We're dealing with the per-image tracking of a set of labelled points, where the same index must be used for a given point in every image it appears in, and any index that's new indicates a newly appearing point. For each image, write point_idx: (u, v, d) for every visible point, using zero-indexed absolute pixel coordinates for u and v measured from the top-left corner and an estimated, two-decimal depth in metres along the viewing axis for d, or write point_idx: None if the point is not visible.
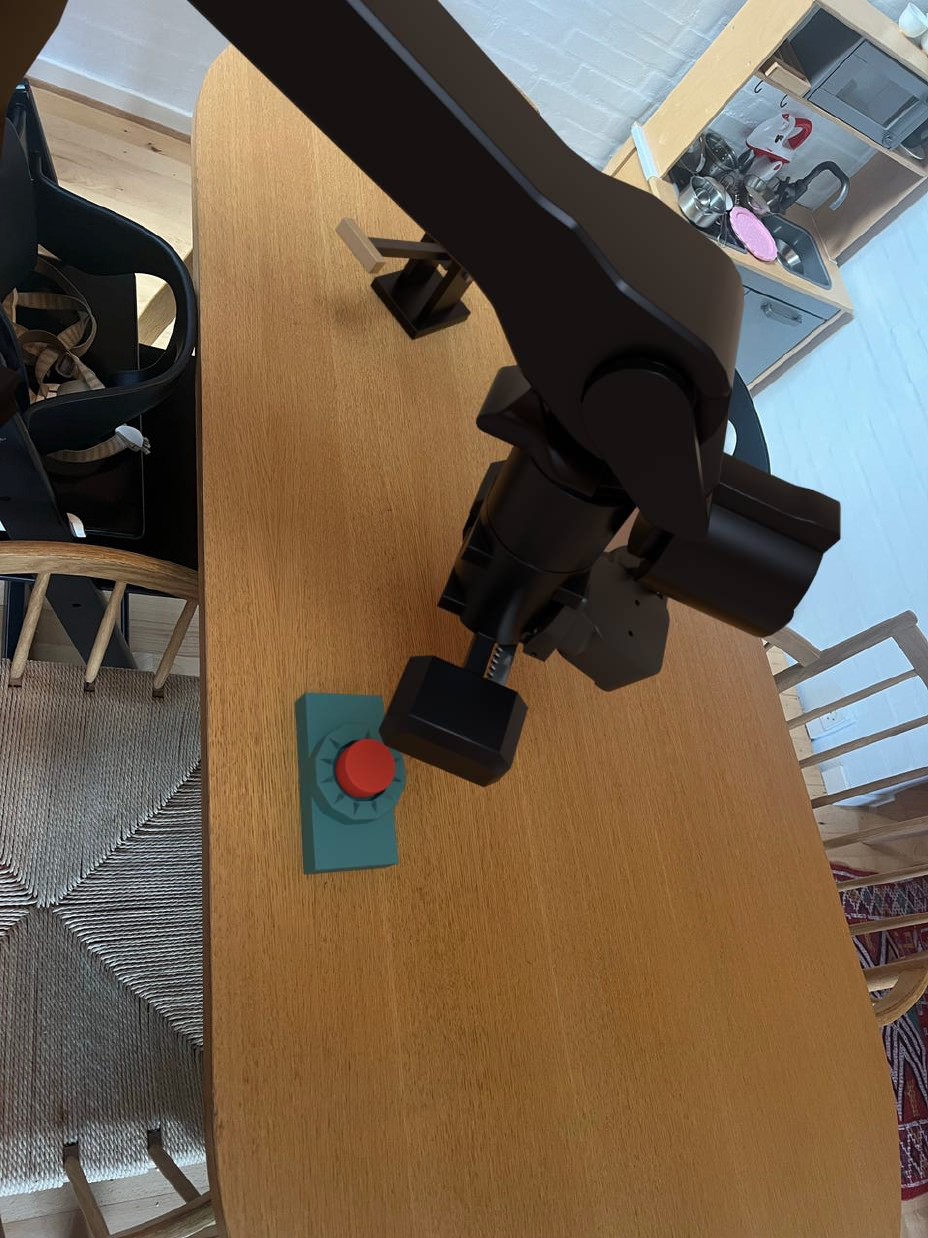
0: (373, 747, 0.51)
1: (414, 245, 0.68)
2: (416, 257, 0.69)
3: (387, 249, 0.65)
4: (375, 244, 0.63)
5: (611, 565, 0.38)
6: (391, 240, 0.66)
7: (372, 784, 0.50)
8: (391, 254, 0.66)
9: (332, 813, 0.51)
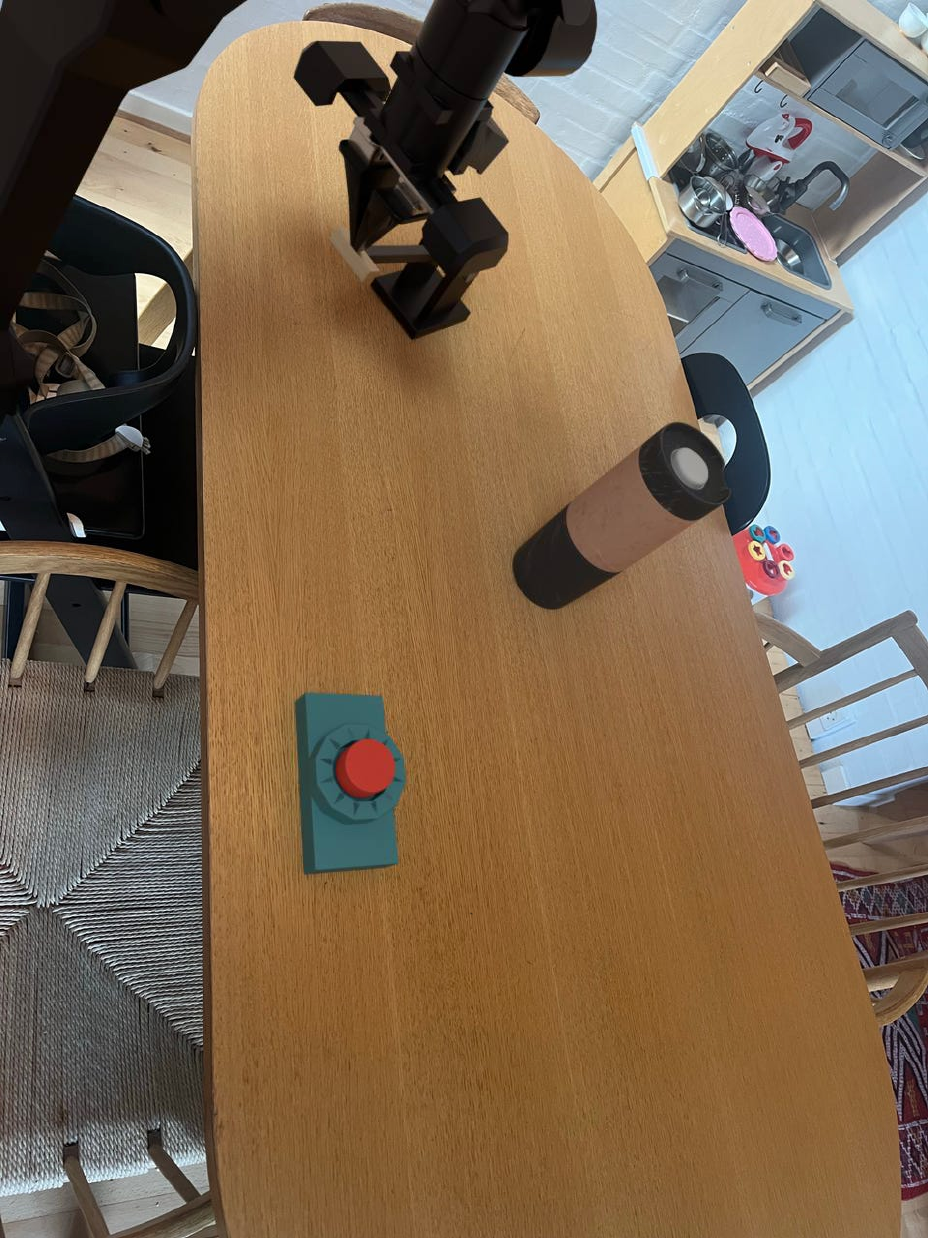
0: (373, 747, 0.51)
1: (410, 249, 0.69)
2: (413, 261, 0.70)
3: (382, 256, 0.65)
4: (368, 253, 0.63)
5: None
6: (386, 246, 0.66)
7: (372, 784, 0.50)
8: (386, 260, 0.66)
9: (332, 813, 0.51)
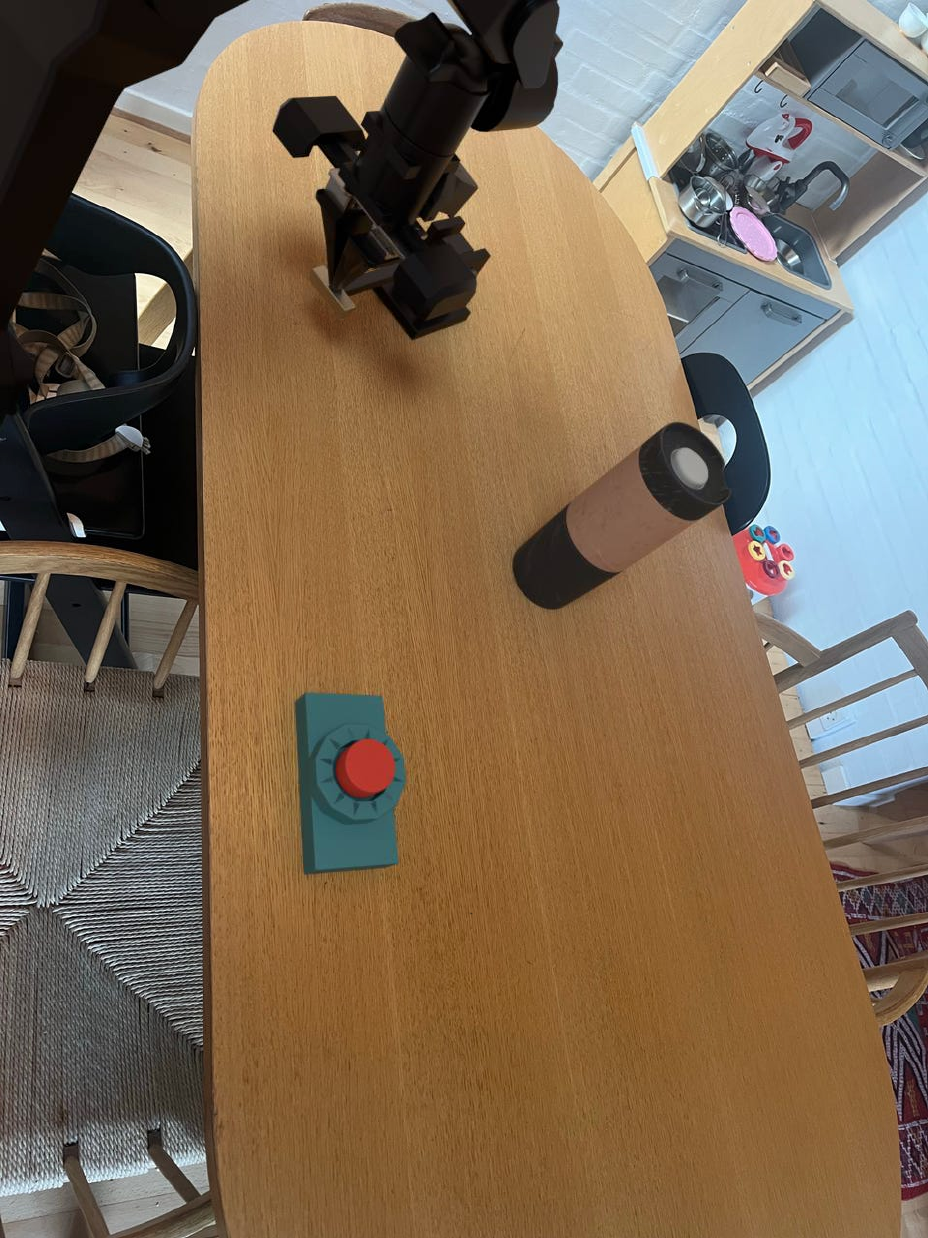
0: (373, 747, 0.51)
1: None
2: None
3: (363, 286, 0.67)
4: (346, 288, 0.66)
5: None
6: (369, 273, 0.68)
7: (372, 784, 0.50)
8: (370, 287, 0.68)
9: (332, 813, 0.51)
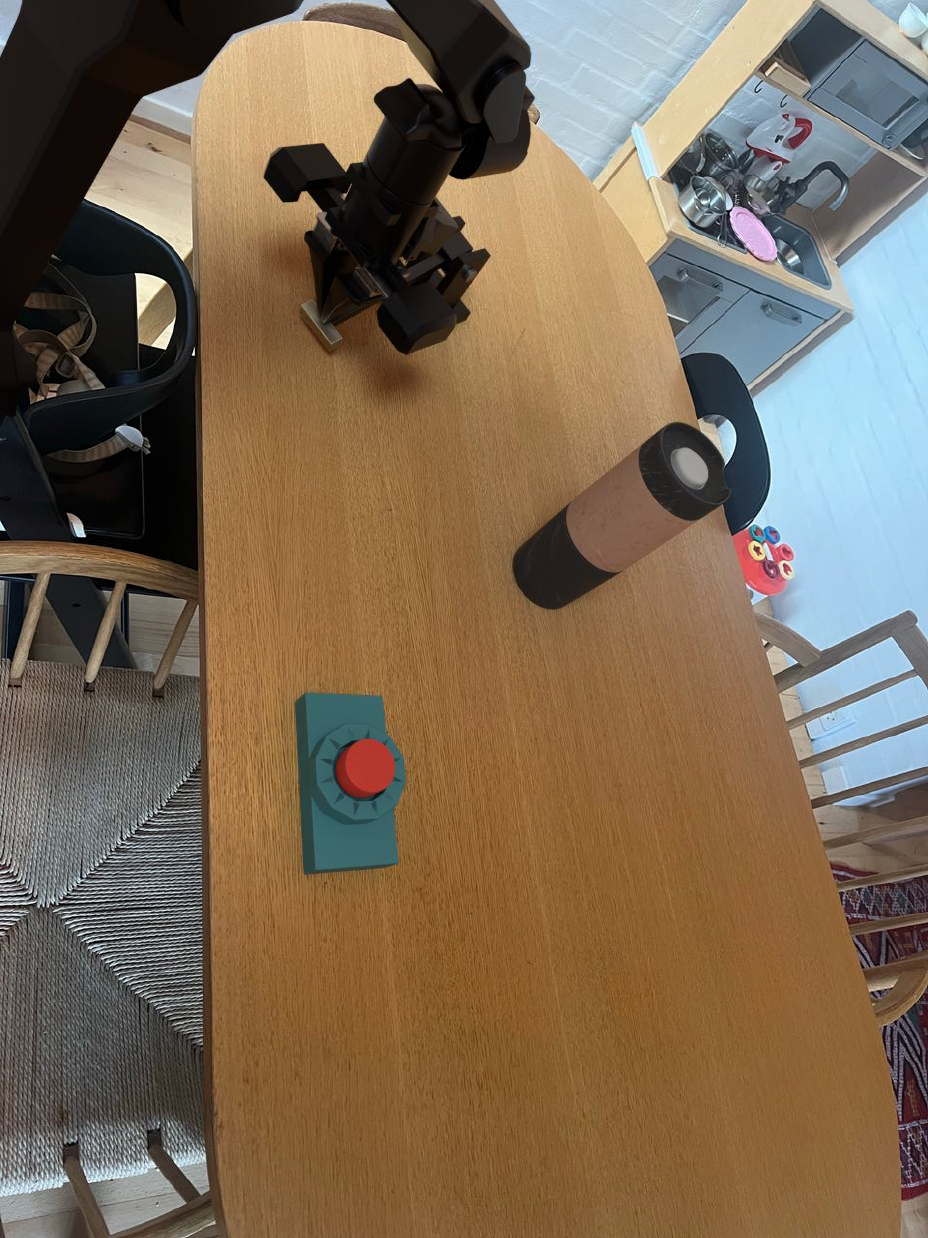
0: (373, 747, 0.51)
1: None
2: None
3: (352, 313, 0.70)
4: (334, 319, 0.70)
5: None
6: None
7: (372, 784, 0.50)
8: (361, 310, 0.71)
9: (332, 813, 0.51)
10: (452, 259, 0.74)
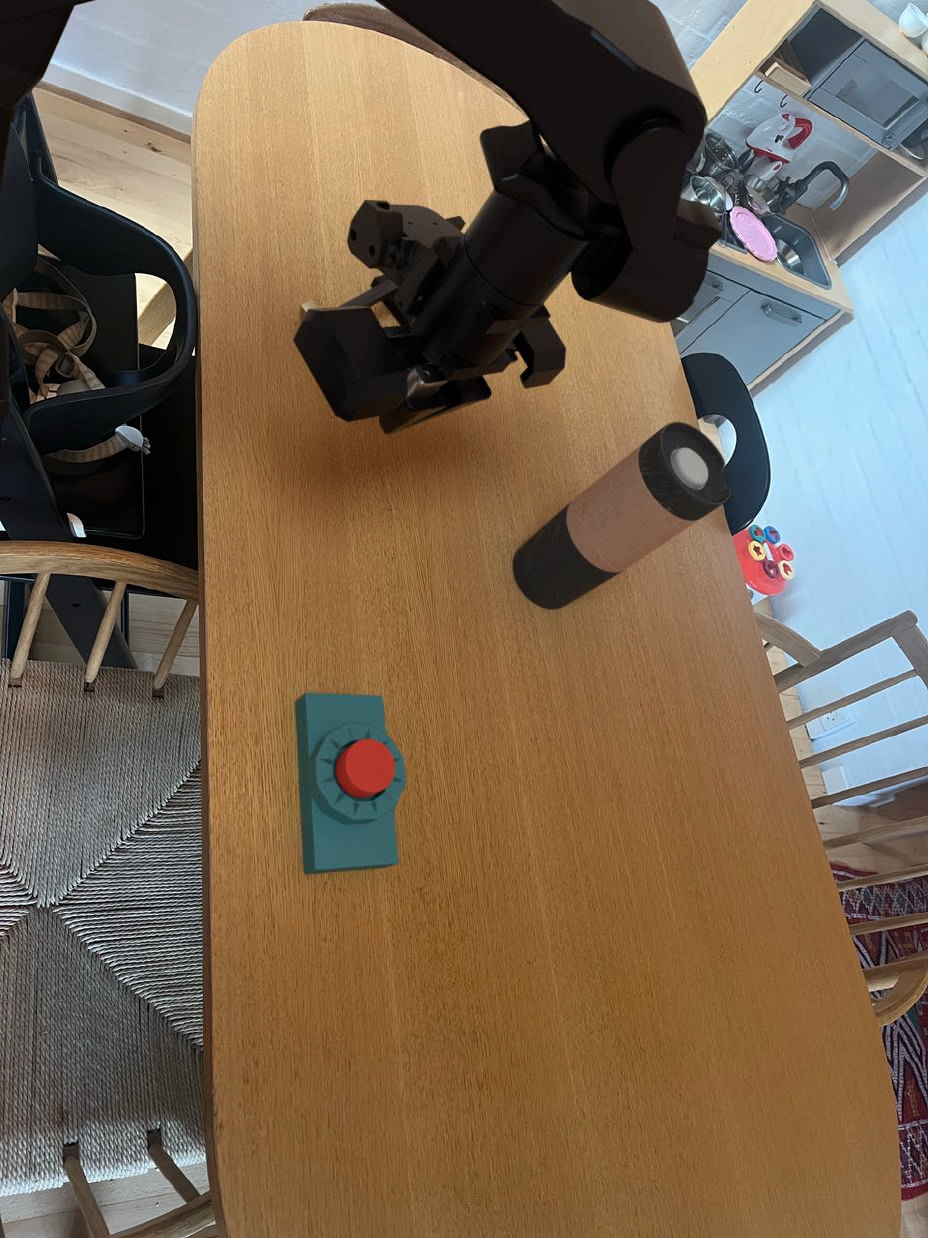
0: (373, 747, 0.51)
1: (389, 285, 0.72)
2: None
3: None
4: None
5: (420, 240, 0.44)
6: (359, 297, 0.71)
7: (372, 784, 0.50)
8: None
9: (332, 813, 0.51)
10: None
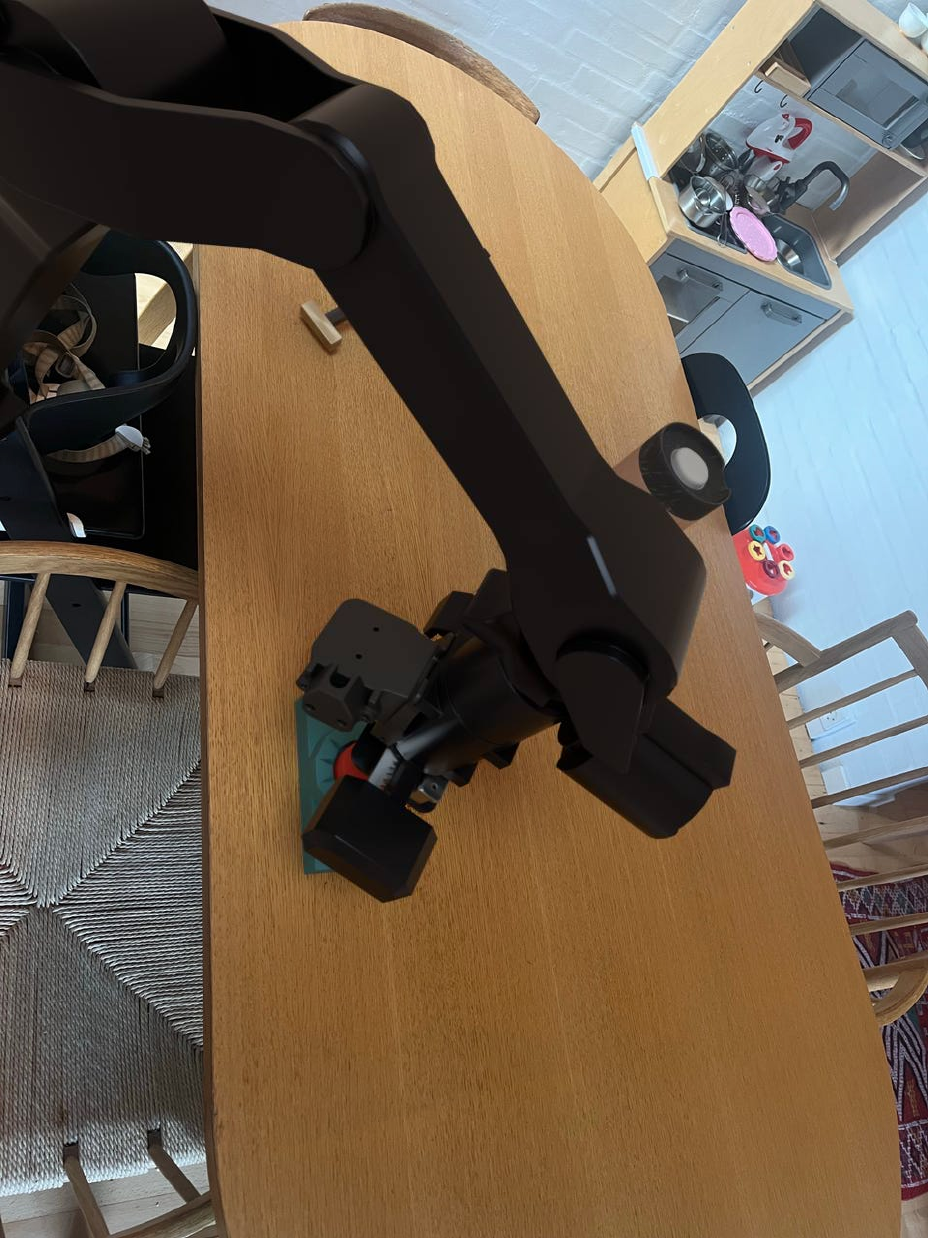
0: None
1: None
2: None
3: None
4: (334, 319, 0.70)
5: (386, 687, 0.39)
6: None
7: None
8: None
9: None
10: None
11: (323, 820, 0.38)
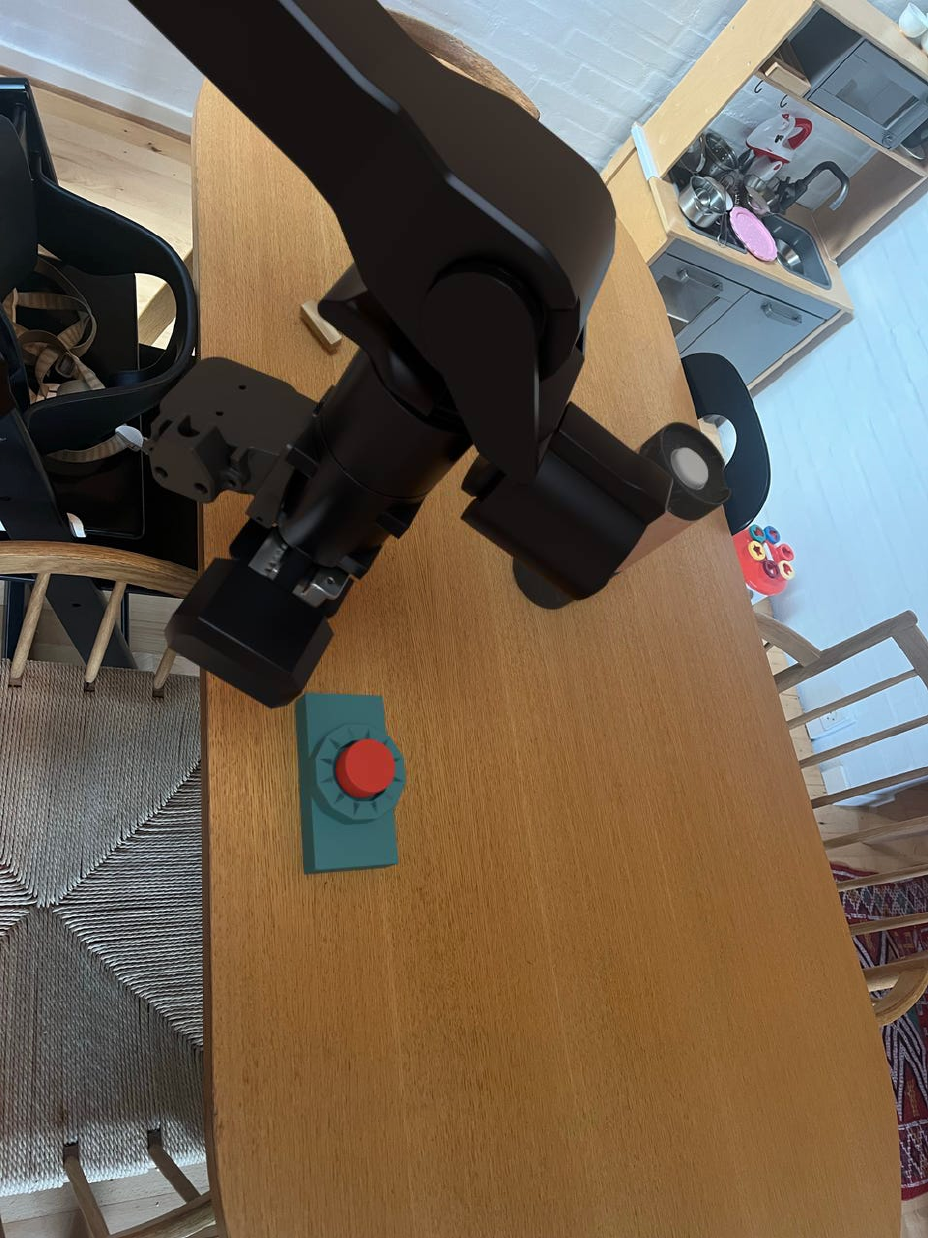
0: (373, 747, 0.51)
1: None
2: None
3: None
4: None
5: (253, 444, 0.32)
6: None
7: (372, 784, 0.50)
8: None
9: (332, 813, 0.51)
10: None
11: (185, 604, 0.32)
